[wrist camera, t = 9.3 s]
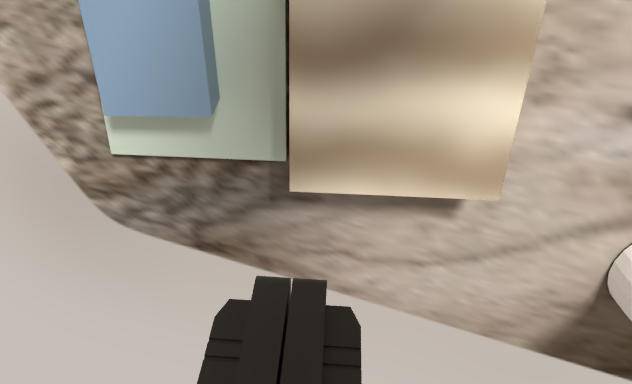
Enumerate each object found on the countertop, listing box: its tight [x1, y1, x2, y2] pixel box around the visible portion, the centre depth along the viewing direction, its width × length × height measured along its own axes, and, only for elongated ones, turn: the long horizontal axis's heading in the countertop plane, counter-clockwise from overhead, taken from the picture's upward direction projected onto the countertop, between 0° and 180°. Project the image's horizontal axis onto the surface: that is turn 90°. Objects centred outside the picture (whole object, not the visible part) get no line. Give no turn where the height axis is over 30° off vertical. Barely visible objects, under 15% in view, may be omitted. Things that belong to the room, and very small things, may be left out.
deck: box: [289, 0, 547, 200], centre depth 30 cm, size 18×12×4 cm, turn 179°
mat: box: [101, 0, 287, 161], centre depth 32 cm, size 18×11×1 cm, turn 179°
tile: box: [78, 0, 220, 117], centre depth 31 cm, size 9×6×2 cm, turn 1°
